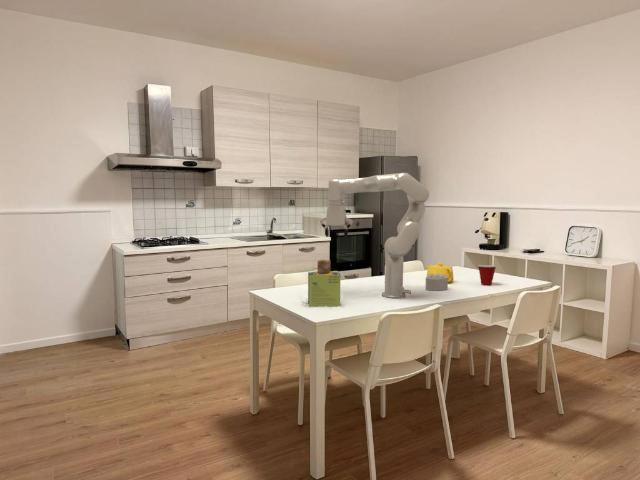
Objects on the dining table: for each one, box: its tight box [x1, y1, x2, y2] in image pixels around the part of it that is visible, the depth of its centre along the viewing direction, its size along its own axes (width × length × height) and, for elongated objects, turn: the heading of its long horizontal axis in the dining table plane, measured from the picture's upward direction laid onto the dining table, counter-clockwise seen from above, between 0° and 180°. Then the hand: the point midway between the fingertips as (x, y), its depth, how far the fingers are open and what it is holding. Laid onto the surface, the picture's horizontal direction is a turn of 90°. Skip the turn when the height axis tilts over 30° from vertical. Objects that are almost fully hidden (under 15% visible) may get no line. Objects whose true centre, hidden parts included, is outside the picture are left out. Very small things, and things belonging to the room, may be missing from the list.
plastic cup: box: [477, 264, 497, 286], centre depth 267 cm, size 11×11×12 cm
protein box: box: [307, 270, 341, 307], centre depth 216 cm, size 10×15×16 cm
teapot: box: [425, 262, 454, 284], centre depth 277 cm, size 20×12×12 cm, turn 34°
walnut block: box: [317, 259, 331, 274], centre depth 215 cm, size 5×5×6 cm
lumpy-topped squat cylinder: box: [425, 274, 449, 292], centre depth 253 cm, size 10×13×9 cm
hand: (336, 236), depth 228 cm, fingers open, 9 cm apart
